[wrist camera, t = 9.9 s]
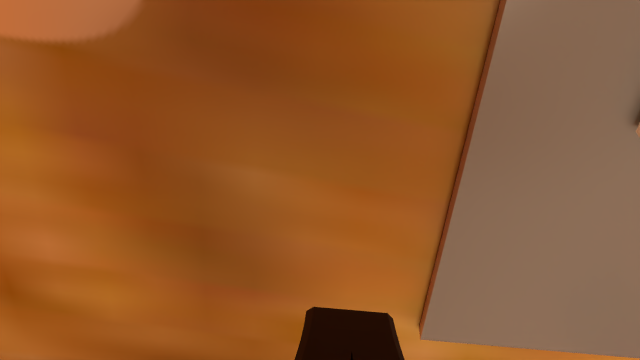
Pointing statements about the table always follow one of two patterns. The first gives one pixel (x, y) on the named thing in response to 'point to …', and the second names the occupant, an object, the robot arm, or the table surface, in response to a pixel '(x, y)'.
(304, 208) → the table surface
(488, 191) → the slate board
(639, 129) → the tile
